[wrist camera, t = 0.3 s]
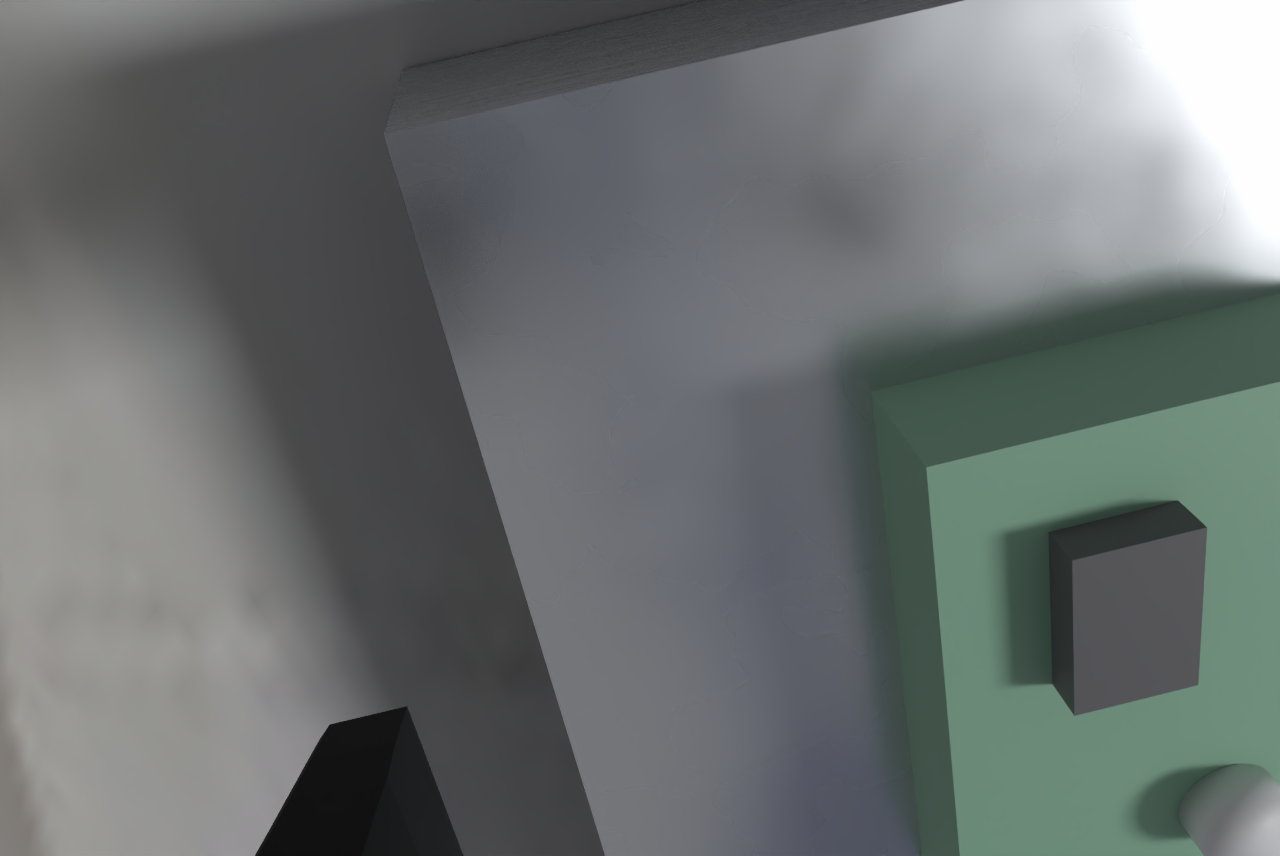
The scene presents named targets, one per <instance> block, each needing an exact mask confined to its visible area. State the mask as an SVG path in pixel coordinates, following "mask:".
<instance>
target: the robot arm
mask: <svg viewBox="0 0 1280 856" xmlns="http://www.w3.org/2000/svg"><path fill="white" fill-rule="evenodd" d="M255 856H463V854H462V851H461V848H460V846H459V843H458V840H457V838H456V835H455V832H454V830H453V827H452V824H451V822H450V819H449V817H448V814H447V811H446V809H445V806H444V803H443V801H442V798H441V795H440V793H439V790H438V787H437V785H436V782H435V779H434V777H433V774H432V771H431V769H430V766H429V763H428V761H427V758H426V755H425V753H424V750H423V747H422V745H421V742H420V740H419V737H418V734H417V732H416V729H415V726H414V724H413V721H412V718H411V716H410V713H409V710H408V708H407V707H402V708H398V709H394V710H390V711H386V712H381V713H377V714H373V715H369V716H364V717H360V718H356V719H352V720H347V721H343V722H339V723H335V724H331V725H329V727H328V728H327V730H326V731H325V733H324V734H323V735H322V737H321V738H320V740H319V742H318V744H317V745H316V747H315V749H314V751H313V752H312V754H311V756H310V758H309V759H308V761H307V763H306V765H305V767H304V768H303V770H302V772H301V774H300V776H299V778H298V779H297V781H296V783H295V785H294V787H293V788H292V790H291V792H290V794H289V796H288V797H287V799H286V801H285V803H284V805H283V807H282V808H281V810H280V812H279V814H278V816H277V817H276V819H275V821H274V823H273V825H272V826H271V828H270V830H269V832H268V834H267V835H266V837H265V839H264V841H263V842H262V844H261V846H260V848H259V849H258V851H257V853H256V855H255Z"/></svg>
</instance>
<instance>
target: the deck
mask: <svg viewBox="0 0 1280 856" xmlns="http://www.w3.org/2000/svg"><path fill="white" fill-rule="evenodd" d="M384 138H385V141H386V145H387V148H388V151H389V154H390V158H391V161H392V164H393V167H394V171H395V174H396V177H397V180H398V184H399V187H400V190H401V193H402V197H403V200H404V203H405V206H406V210H407V213H408V216H409V219H410V223H411V226H412V229H413V232H414V236H415V239H416V242H417V246H418V249H419V252H420V255H421V259H422V262H423V265H424V268H425V272H426V275H427V278H428V281H429V285H430V288H431V291H432V294H433V298H434V301H435V304H436V307H437V311H438V314H439V317H440V320H441V324H442V327H443V330H444V333H445V337H446V340H447V343H448V346H449V350H450V353H451V356H452V359H453V363H454V366H455V369H456V372H457V376H458V379H459V382H460V385H461V389H462V392H463V395H464V398H465V402H466V405H467V408H468V411H469V415H470V418H471V421H472V425H473V428H474V431H475V434H476V438H477V441H478V444H479V447H480V451H481V454H482V457H483V460H484V464H485V467H486V470H487V473H488V477H489V480H490V483H491V486H492V490H493V493H494V496H495V499H496V503H497V506H498V509H499V512H500V516H501V519H502V522H503V525H504V529H505V532H506V535H507V538H508V542H509V545H510V548H511V551H512V555H513V558H514V561H515V564H516V568H517V571H518V574H519V577H520V581H521V584H522V587H523V590H524V594H525V597H526V600H527V604H528V607H529V610H530V613H531V617H532V620H533V623H534V626H535V630H536V633H537V636H538V639H539V643H540V646H541V649H542V652H543V656H544V659H545V662H546V665H547V669H548V672H549V675H550V678H551V682H552V685H553V688H554V691H555V695H556V698H557V701H558V704H559V708H560V711H561V714H562V717H563V721H564V724H565V727H566V730H567V734H568V737H569V740H570V743H571V747H572V750H573V753H574V756H575V760H576V763H577V766H578V769H579V773H580V776H581V779H582V782H583V786H584V789H585V792H586V796H587V799H588V802H589V805H590V809H591V812H592V815H593V818H594V822H595V825H596V828H597V831H598V835H599V838H600V841H601V844H602V848H603V851H604V854H605V856H922V853H921V844H920V835H919V826H918V817H917V808H916V798H915V789H914V780H913V771H912V762H911V753H910V744H909V735H908V726H907V717H906V707H905V698H904V689H903V680H902V671H901V662H900V653H899V644H898V635H897V626H896V617H895V607H894V598H893V589H892V580H891V571H890V562H889V553H888V544H887V535H886V526H885V516H884V507H883V498H882V489H881V480H880V471H879V462H878V453H877V444H876V435H875V425H874V416H873V407H872V398H871V391H874V390H878V389H882V388H887V387H891V386H895V385H899V384H903V383H907V382H912V381H916V380H920V379H924V378H928V377H932V376H937V375H941V374H945V373H949V372H953V371H957V370H961V369H966V368H970V367H974V366H978V365H982V364H986V363H991V362H995V361H999V360H1003V359H1007V358H1011V357H1016V356H1020V355H1024V354H1028V353H1032V352H1036V351H1041V350H1045V349H1049V348H1053V347H1057V346H1061V345H1066V344H1070V343H1074V342H1078V341H1082V340H1086V339H1090V338H1095V337H1099V336H1103V335H1107V334H1111V333H1115V332H1120V331H1124V330H1128V329H1132V328H1136V327H1140V326H1145V325H1149V324H1153V323H1157V322H1161V321H1165V320H1170V319H1174V318H1178V317H1182V316H1186V315H1190V314H1195V313H1199V312H1203V311H1207V310H1211V309H1215V308H1219V307H1224V306H1228V305H1232V304H1236V303H1240V302H1244V301H1249V300H1253V299H1257V298H1261V297H1265V296H1269V295H1274V294H1278V293H1280V0H703V1H699V2H694V3H690V4H686V5H681V6H677V7H673V8H668V9H664V10H660V11H655V12H651V13H646V14H642V15H638V16H633V17H629V18H625V19H620V20H616V21H612V22H607V23H603V24H599V25H594V26H590V27H586V28H581V29H577V30H573V31H568V32H564V33H560V34H555V35H551V36H547V37H542V38H538V39H534V40H529V41H525V42H521V43H516V44H512V45H508V46H503V47H499V48H494V49H490V50H486V51H481V52H477V53H473V54H468V55H464V56H460V57H455V58H451V59H447V60H442V61H438V62H434V63H429V64H425V65H421V66H416V67H412V68H408V69H403V71H402V75H401V78H400V81H399V85H398V88H397V91H396V95H395V98H394V102H393V105H392V108H391V112H390V115H389V118H388V122H387V125H386V128H385V132H384Z"/></svg>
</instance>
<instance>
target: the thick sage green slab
mask: <svg viewBox="0 0 1280 856" xmlns="http://www.w3.org/2000/svg"><path fill="white" fill-rule="evenodd" d="M871 398H872V407H873V416H874V425H875V435H876V444H877V453H878V462H879V471H880V480H881V489H882V498H883V507H884V516H885V526H886V535H887V544H888V553H889V562H890V571H891V580H892V589H893V598H894V607H895V617H896V626H897V635H898V644H899V653H900V662H901V671H902V680H903V689H904V698H905V707H906V717H907V726H908V735H909V744H910V753H911V762H912V771H913V780H914V789H915V798H916V808H917V817H918V826H919V835H920V844H921V853H922V856H1280V293H1278V294H1274V295H1269V296H1265V297H1261V298H1257V299H1253V300H1249V301H1244V302H1240V303H1236V304H1232V305H1228V306H1224V307H1219V308H1215V309H1211V310H1207V311H1203V312H1199V313H1195V314H1190V315H1186V316H1182V317H1178V318H1174V319H1170V320H1165V321H1161V322H1157V323H1153V324H1149V325H1145V326H1140V327H1136V328H1132V329H1128V330H1124V331H1120V332H1115V333H1111V334H1107V335H1103V336H1099V337H1095V338H1090V339H1086V340H1082V341H1078V342H1074V343H1070V344H1066V345H1061V346H1057V347H1053V348H1049V349H1045V350H1041V351H1036V352H1032V353H1028V354H1024V355H1020V356H1016V357H1011V358H1007V359H1003V360H999V361H995V362H991V363H986V364H982V365H978V366H974V367H970V368H966V369H961V370H957V371H953V372H949V373H945V374H941V375H937V376H932V377H928V378H924V379H920V380H916V381H912V382H907V383H903V384H899V385H895V386H891V387H887V388H882V389H878V390H874V391H871Z"/></svg>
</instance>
